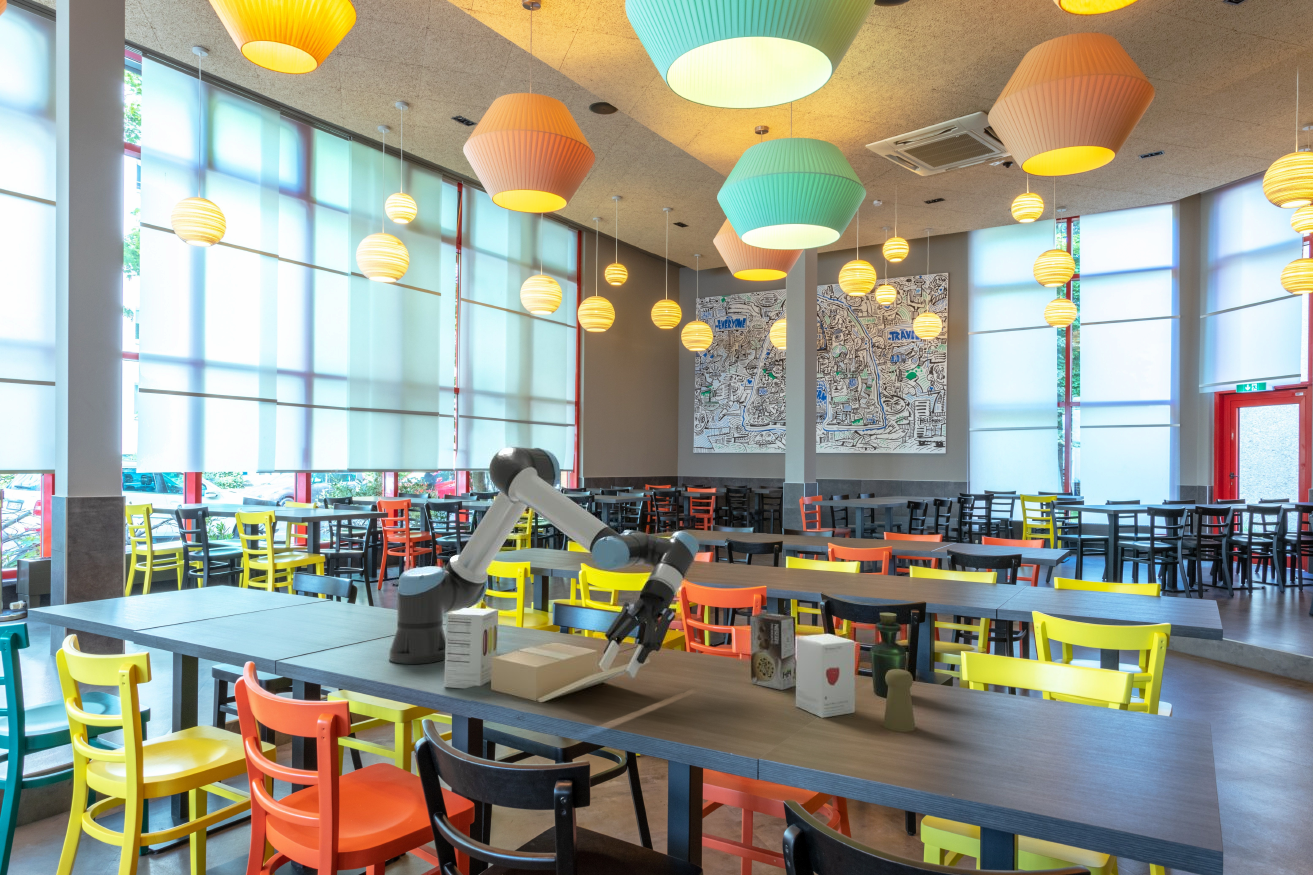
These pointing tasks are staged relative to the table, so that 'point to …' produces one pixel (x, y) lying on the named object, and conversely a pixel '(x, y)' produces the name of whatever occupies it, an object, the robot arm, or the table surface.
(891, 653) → the potion bottle
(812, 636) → the supplement box
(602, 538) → the robot arm
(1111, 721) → the table surface
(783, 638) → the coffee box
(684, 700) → the table surface
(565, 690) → the carton flap
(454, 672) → the supplement box
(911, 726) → the olive pawn
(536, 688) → the carton
